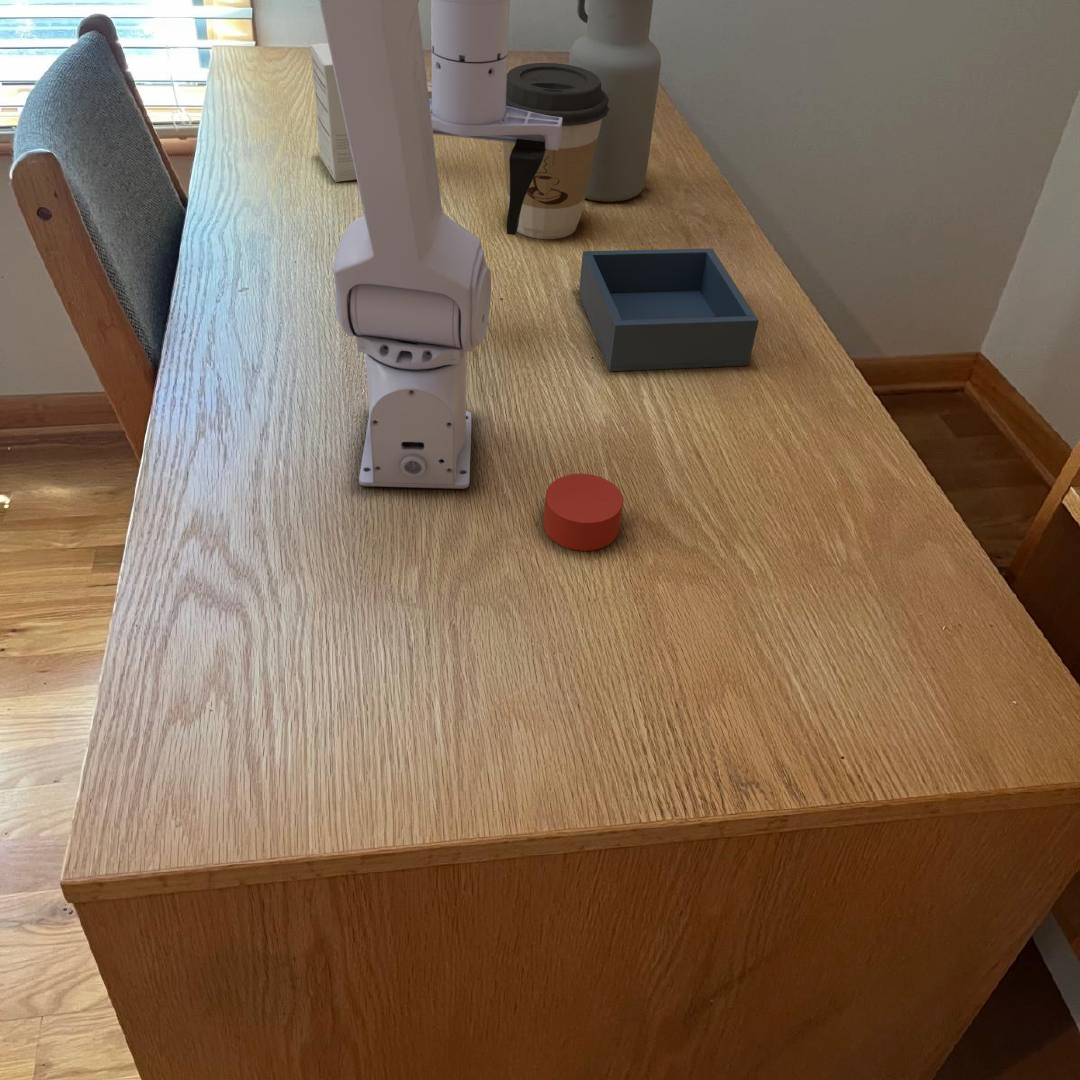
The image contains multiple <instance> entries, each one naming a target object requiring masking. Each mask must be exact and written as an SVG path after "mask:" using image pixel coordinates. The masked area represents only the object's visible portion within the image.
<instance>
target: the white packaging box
mask: <svg viewBox="0 0 1080 1080" xmlns="http://www.w3.org/2000/svg"><path fill="white" fill-rule="evenodd" d="M309 46H310V47H309V48H310V58H311V69H312V80H313V89H314V100H315V101H314V102H315V113H316V125H317V137H318V149H319V156H320V159H321V161H322V163H323V164H324V166H325V168H326V169H327V171H328V172H329V174H330V176H331V177H332V179H333V181H334V182H336V183H339V182H346V181H347V182H348V181H357V178H356V173H355V168H354V164H353V159H352V154H351V149H350V145H349V140H348V135H347V130H346V126H345V121H344V116H343V112H342V107H341V102H340V97H339V93H338V88H337V83H336V78H335V74H334V69H333V64H332V59H331V55H330V50H329V45H328V42H323V43H310V44H309Z"/></svg>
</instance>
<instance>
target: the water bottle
mask: <svg viewBox="0 0 1080 1080" xmlns="http://www.w3.org/2000/svg"><path fill="white" fill-rule="evenodd" d="M653 4H654V0H588V8H587V9H588V10H587V12H586V8H585V7H586V0H577V9H576V11H577V17H578V19H580V20H581V21H582V22H583V23H585V24H586V32H585V33H584V34H583V35H582V36H580V37H578V38H577V39H576V40H575V41H574V43H572V45H571V47H570V49H569V56H568V65H571V66H576V67H580V68H583V69H585V70H588V71H591V72H592V73H594V74H595V75H596V76H598V77H599V79H600V81H601V90H603V91H604V92H605V93H606V95H607V97H608V99H609V102H608V108H609V111H608V114H607V116H605V117H604V118H602V122H601V126H600V131H599V135H598V140H597V144H596V149H595V153H594V158H593V163H592V167H591V172H590V176H589V181H588V185H587V190H586V194H585V199H584V200H590V201H594V202H603V203H615V202H622V201H627V200H630V199H632V198H634V197H636V196H638V195H639V194H640V193H641V192H642V191H643V190H644V188H645V185H646V182H647V181H646V180H647V174H648V165H649V159H650V151H651V150H650V149H651V143H652V135H653V127H654V119H655V112H656V104H657V97H658V91H659V90H658V89H659V83H660V76H661V75H660V74H661V67H662V58H661V52H660V51H659V49H658V47H657V46H656V45H655V43H654V42H652V41H651V39H650V31H651V21H652V13H653V7H654V5H653Z"/></svg>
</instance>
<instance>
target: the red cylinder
mask: <svg viewBox="0 0 1080 1080" xmlns="http://www.w3.org/2000/svg"><path fill="white" fill-rule="evenodd" d="M623 505H624V497H623V494H622V492H621V490H620V489H619V487H617V485H615V484H614V483H613V482H611V481H610V480H609V479H606V478H604V477H601V476H599V475H595V474H590V473H570V474H566V475H563V476H560V477H558V478H556V479H554V480H553V481H552V482H551V483H550V484H549V485H548V487H547V488H546V490H545V497H544V506H543V507H544V508H543V521H542V525H543V529H544V532H545V534H546V535H547V537H548V538H550V539H551V541H553V542H554V543H555V544H557V545H559V546H561V547H563V548H566V549H570V550H573V551H581V552H588V551H589V552H590V551H597V550H600V549H602V548H603V549H604V548H605V547H608V546H609V545H611V544H612V543H613V542H614V541H615V540H616V539H617V537H618V535H619V533H620V527H621V519H622V511H623Z"/></svg>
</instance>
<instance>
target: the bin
mask: <svg viewBox="0 0 1080 1080" xmlns="http://www.w3.org/2000/svg"><path fill="white" fill-rule="evenodd" d="M580 266H581V267H580V277H579V288H578V297H579V299H580V301H581V304H582V306H583V309H584V312H585V314H586V316H587V319H588V321H589V324H590V326H591V329H592V331H593V334H594V336H595V339H596V341H597V344H598V346H599V348H600V351H601V353H602V355H603V359H604V361H605V363H606V366H607V368H608V370H609V372H626V371H627V372H628V371H630V372H631V371H654V370H674V369H697V368H721V367H723V368H725V367H745V366H747V367H749V365H750V361H751V358H752V357H751V356H752V353H753V352H752V351H753V347H754V344H755V339H756V333H757V329H758V325H759V321H760V320H759V318H758V317H757V316H756V314H755V312H754V310H753V309H752V307H751V306H750V304H749V303H748V302H747V300H746V298H745V297H744V296H743V294H742V292H741V290H740V289H739V287H738V286H737V284H736V283H735V281H734V279H733V278H732V277H731V275H730V274H729V272H728V271H727V269H726V267H725V266H724V264H723V263H722V261H721V259H720V258H719V256H718V255H717V253H716V252H715V251H714V248H711V247H709V248H708V247H707V248H705V247H703V248H674V249H673V248H667V249H666V248H664V249H662V248H661V249H660V248H659V249H620V250H617V249H616V250H614V249H613V250H583V251H582V256H581V265H580Z"/></svg>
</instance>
